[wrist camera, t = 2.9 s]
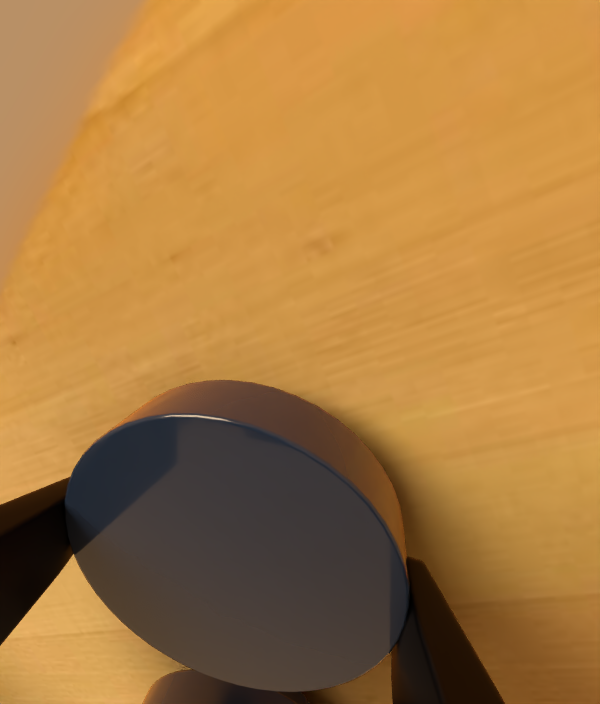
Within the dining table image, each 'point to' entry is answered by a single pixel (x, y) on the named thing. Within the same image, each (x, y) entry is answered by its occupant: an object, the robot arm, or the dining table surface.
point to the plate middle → (212, 691)
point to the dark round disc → (244, 536)
